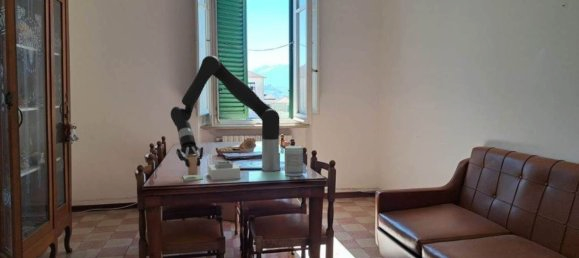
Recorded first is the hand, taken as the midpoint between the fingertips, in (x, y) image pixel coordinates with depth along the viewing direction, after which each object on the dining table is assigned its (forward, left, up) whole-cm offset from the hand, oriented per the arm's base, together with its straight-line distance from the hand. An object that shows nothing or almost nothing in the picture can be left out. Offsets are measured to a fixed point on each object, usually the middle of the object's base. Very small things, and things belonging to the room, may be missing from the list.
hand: (193, 165), depth 209 cm
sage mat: (0, -2, -7) cm, 7 cm away
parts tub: (-15, -2, -7) cm, 17 cm away
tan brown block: (0, -2, -5) cm, 5 cm away
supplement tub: (-50, +6, -7) cm, 51 cm away
